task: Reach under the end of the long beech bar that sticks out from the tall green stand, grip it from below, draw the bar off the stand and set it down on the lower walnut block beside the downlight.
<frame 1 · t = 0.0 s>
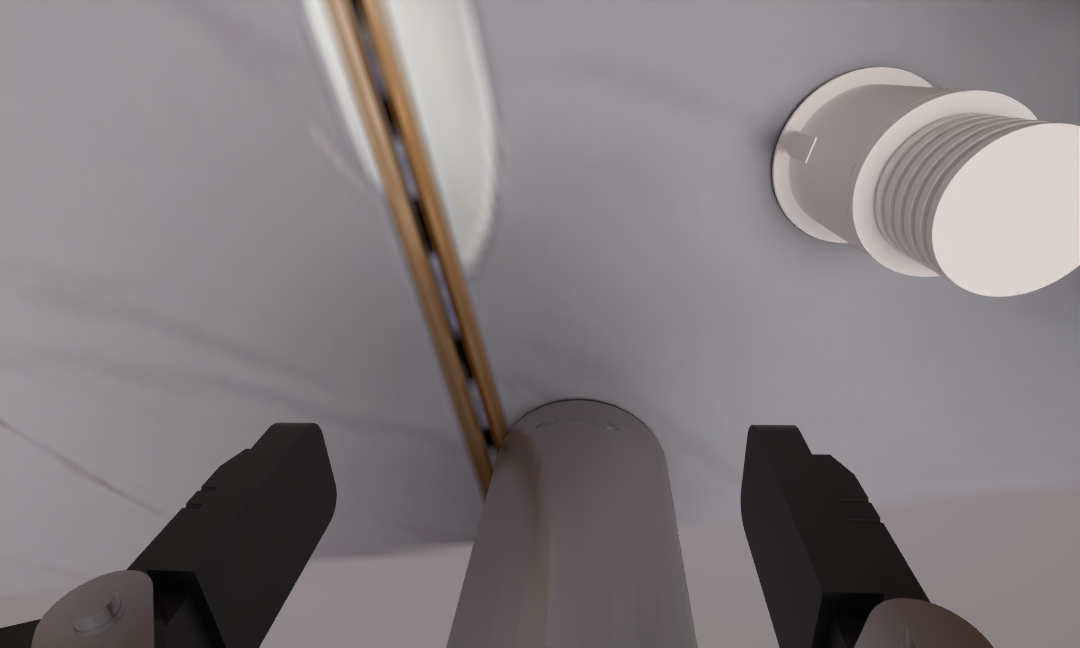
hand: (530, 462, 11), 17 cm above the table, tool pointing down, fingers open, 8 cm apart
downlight: (858, 159, 25), on the table
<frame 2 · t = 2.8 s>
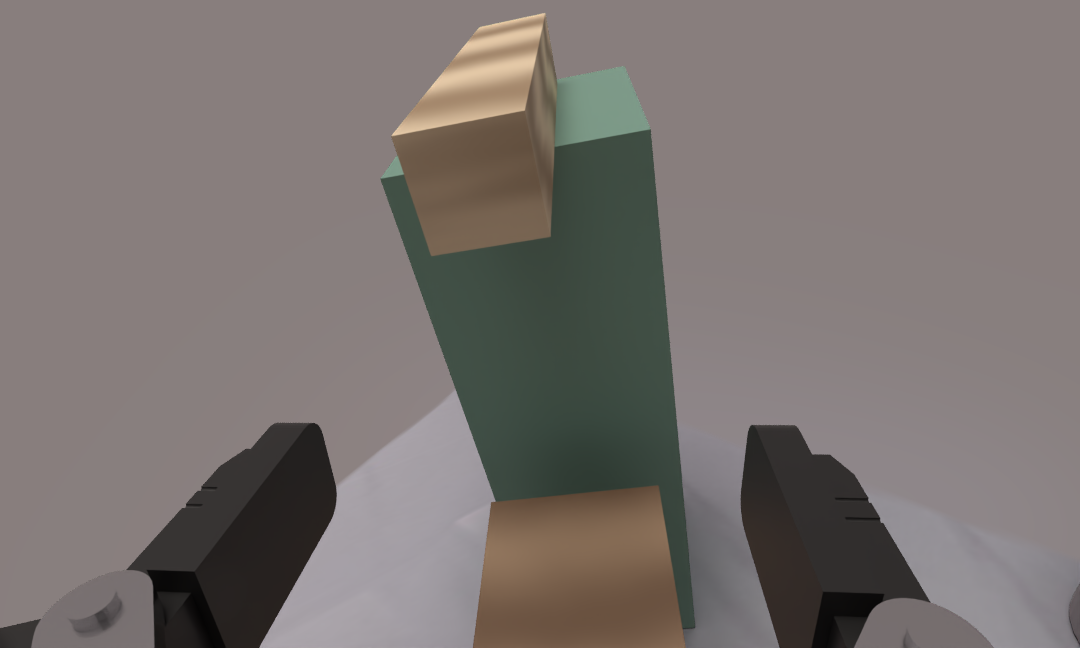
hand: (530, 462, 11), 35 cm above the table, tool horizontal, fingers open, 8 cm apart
green stand: (613, 559, 48), on the table
beech bar: (513, 143, 25), point 36 cm above the table, touching green stand
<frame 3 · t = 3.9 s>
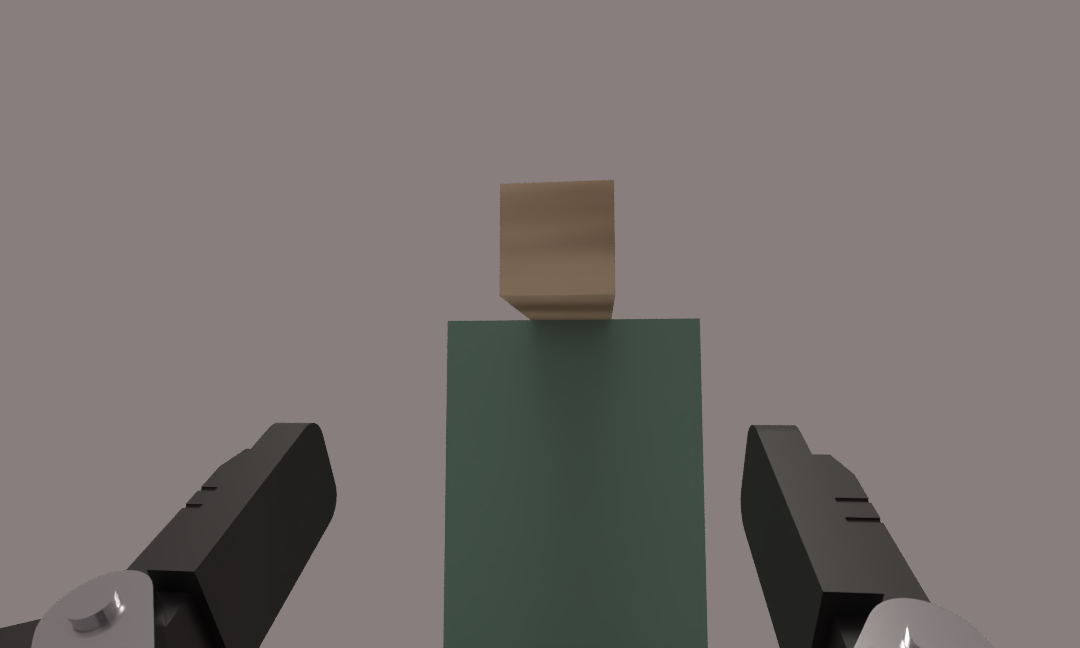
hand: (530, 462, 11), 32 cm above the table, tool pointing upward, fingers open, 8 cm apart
beech bar: (572, 322, 27), point 36 cm above the table, touching green stand
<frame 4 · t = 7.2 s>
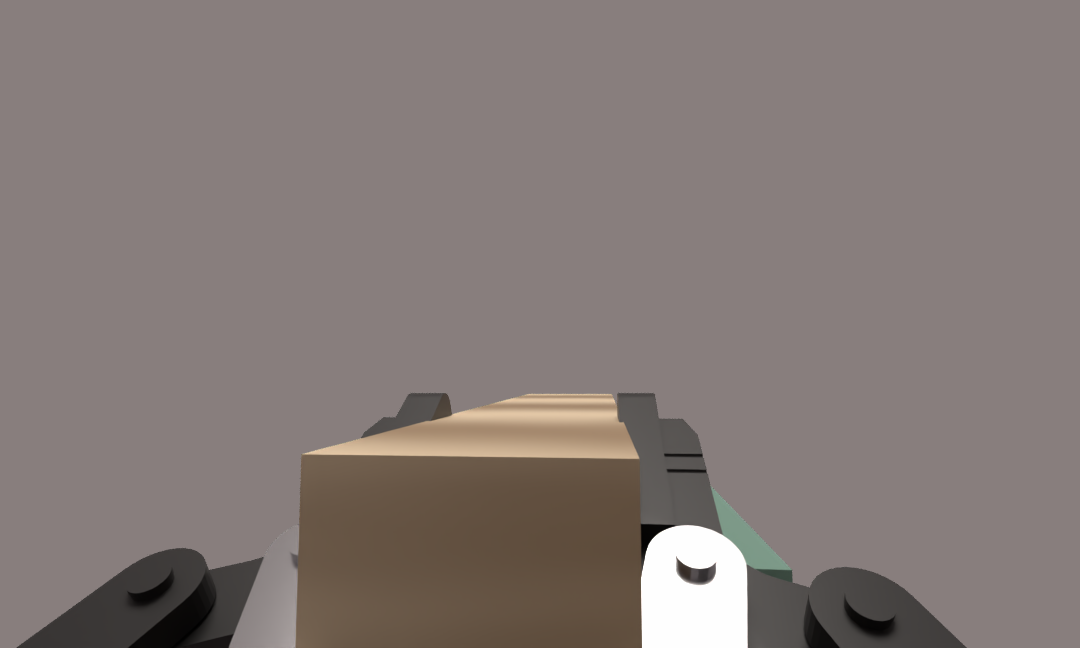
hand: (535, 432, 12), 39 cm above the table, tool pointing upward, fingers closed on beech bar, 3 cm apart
beech bar: (549, 543, 15), point 36 cm above the table, touching green stand, gripper
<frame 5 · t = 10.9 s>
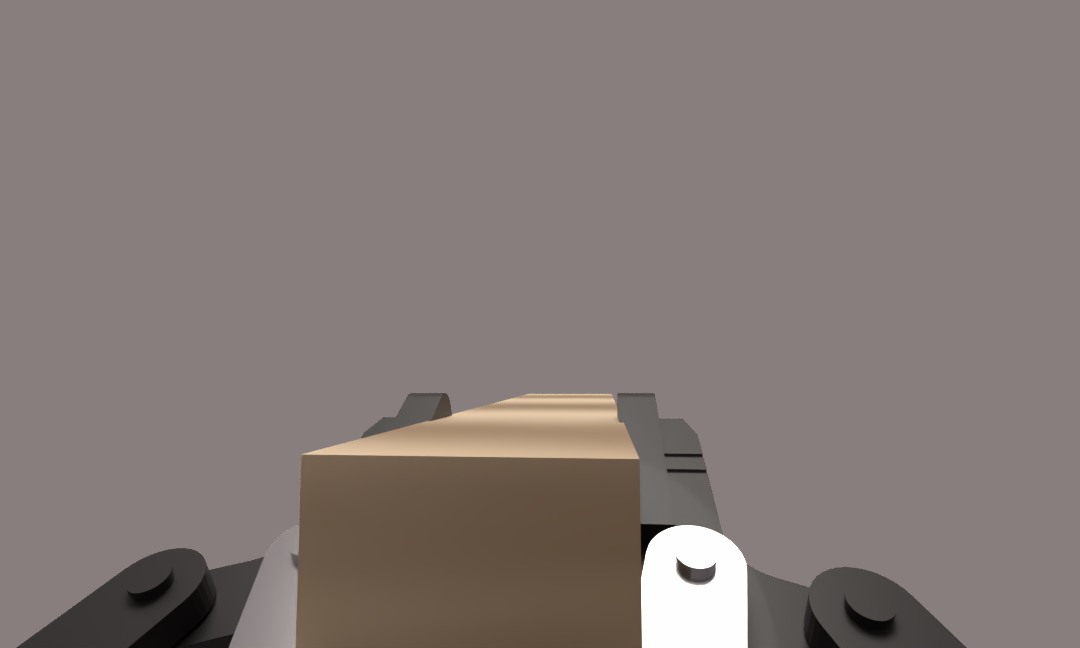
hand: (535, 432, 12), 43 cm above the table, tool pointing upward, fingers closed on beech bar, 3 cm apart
beech bar: (549, 543, 15), point 40 cm above the table, touching gripper
when the fingers open (26 cm above the table, at t = 14.6 s): beech bar drops 2 cm, resting on walnut block.
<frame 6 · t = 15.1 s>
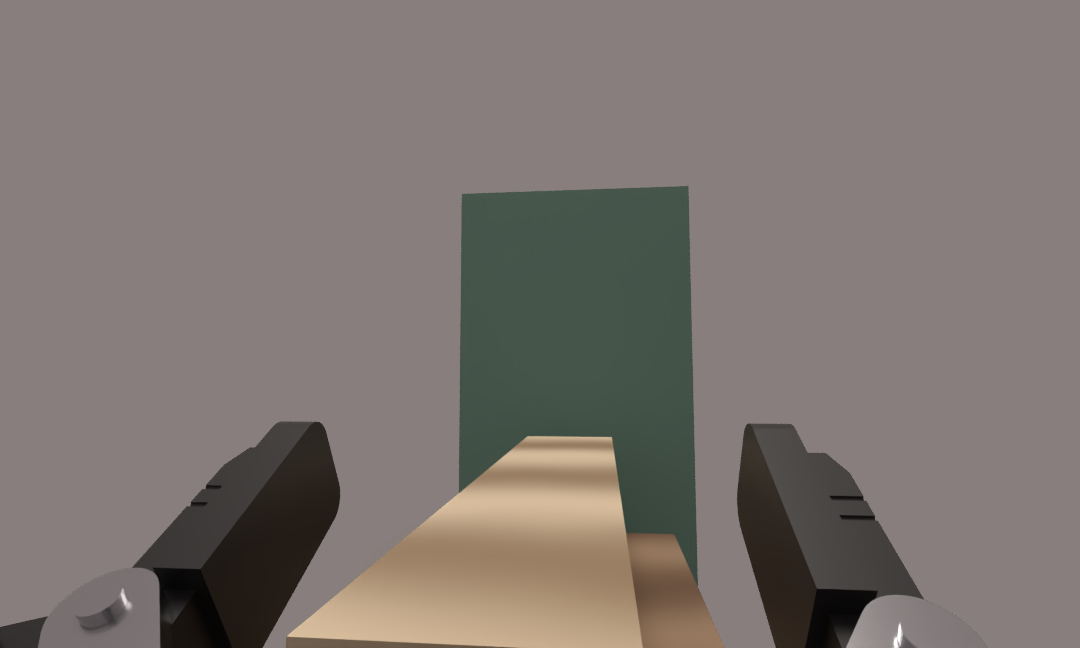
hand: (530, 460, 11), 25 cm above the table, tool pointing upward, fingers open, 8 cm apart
beech bar: (549, 617, 15), point 21 cm above the table, touching walnut block
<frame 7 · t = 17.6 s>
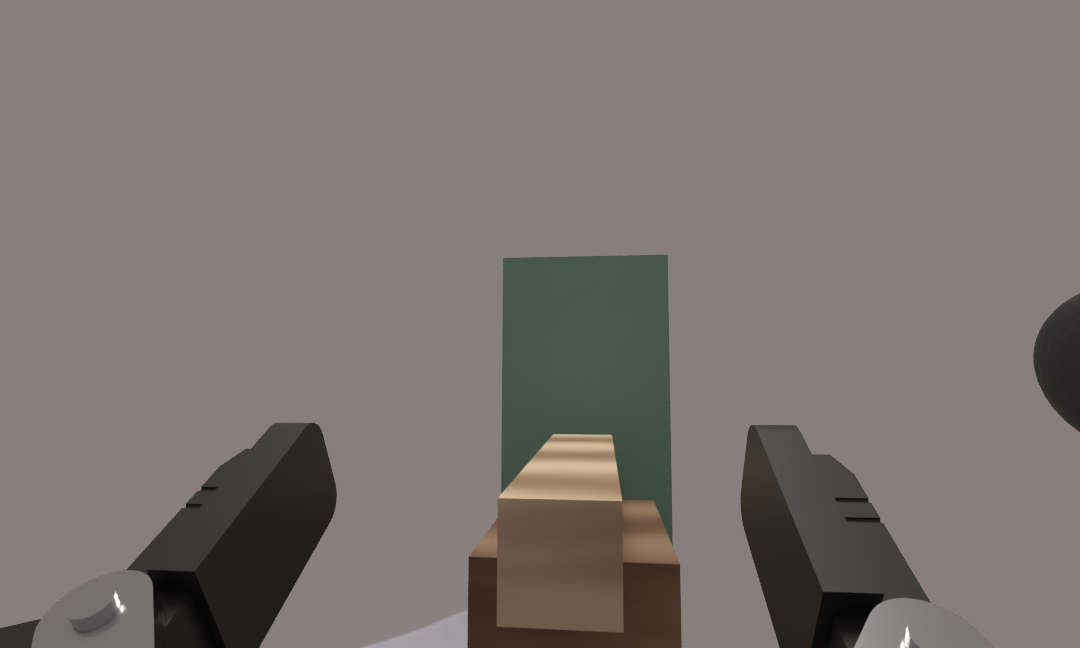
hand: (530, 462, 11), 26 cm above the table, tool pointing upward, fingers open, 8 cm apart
beech bar: (575, 536, 26), point 21 cm above the table, touching walnut block
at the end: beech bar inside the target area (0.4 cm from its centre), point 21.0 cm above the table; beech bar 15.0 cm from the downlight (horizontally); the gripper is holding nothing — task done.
